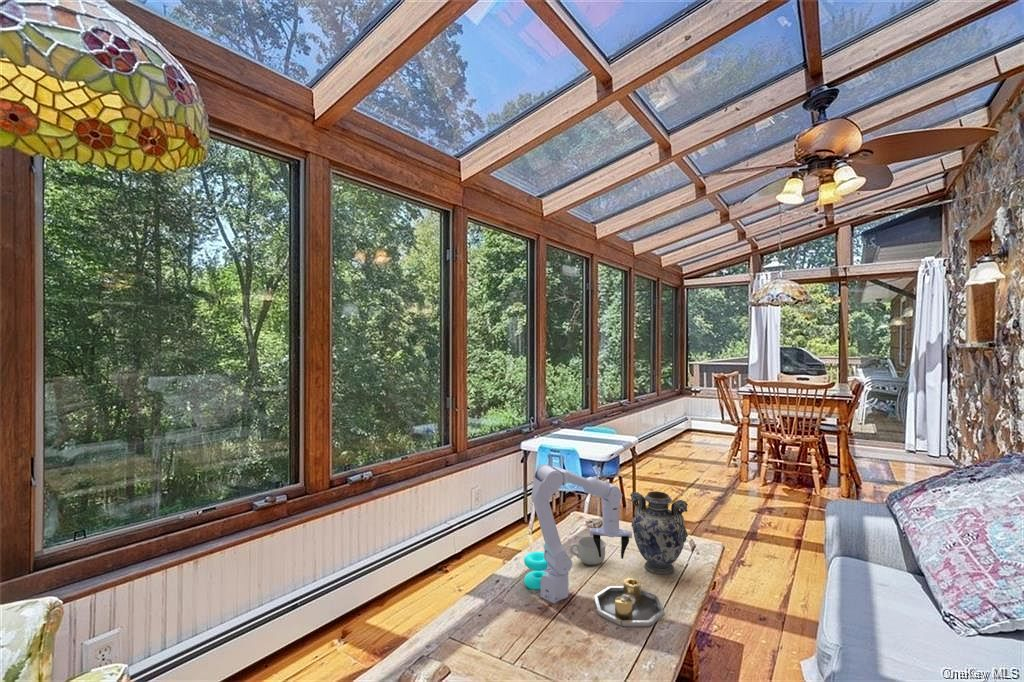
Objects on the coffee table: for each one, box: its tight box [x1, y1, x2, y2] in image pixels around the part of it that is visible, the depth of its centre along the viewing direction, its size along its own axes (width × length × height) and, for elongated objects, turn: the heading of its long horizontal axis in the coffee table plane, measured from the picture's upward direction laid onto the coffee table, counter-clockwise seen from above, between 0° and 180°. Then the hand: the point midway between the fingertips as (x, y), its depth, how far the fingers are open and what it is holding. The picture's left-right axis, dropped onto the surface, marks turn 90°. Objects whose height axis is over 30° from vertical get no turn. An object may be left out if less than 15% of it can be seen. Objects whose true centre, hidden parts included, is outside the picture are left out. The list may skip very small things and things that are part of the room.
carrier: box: [593, 584, 665, 628], centre depth 151 cm, size 21×21×7 cm
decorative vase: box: [629, 491, 689, 576], centre depth 178 cm, size 21×19×28 cm
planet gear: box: [623, 577, 642, 602], centre depth 157 cm, size 5×5×5 cm
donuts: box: [523, 551, 547, 590], centre depth 167 cm, size 10×10×10 cm
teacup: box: [569, 535, 606, 567], centre depth 184 cm, size 14×11×8 cm
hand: (611, 556), depth 167 cm, fingers open, 7 cm apart
